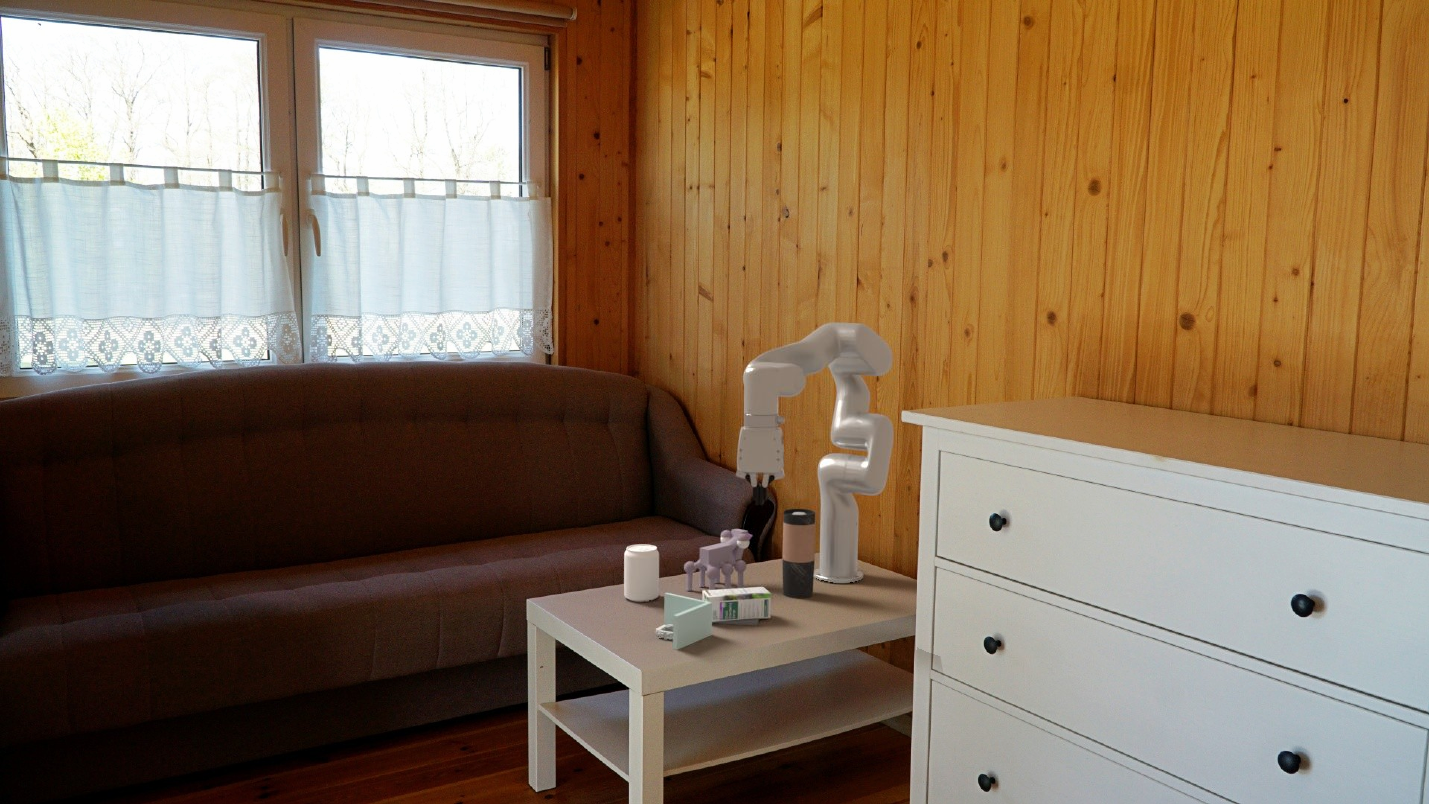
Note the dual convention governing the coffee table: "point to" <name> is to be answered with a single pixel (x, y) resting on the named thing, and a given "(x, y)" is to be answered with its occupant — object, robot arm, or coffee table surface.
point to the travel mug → (798, 552)
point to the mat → (739, 621)
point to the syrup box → (739, 603)
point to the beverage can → (641, 572)
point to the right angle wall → (685, 620)
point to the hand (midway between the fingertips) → (759, 503)
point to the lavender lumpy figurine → (720, 560)
